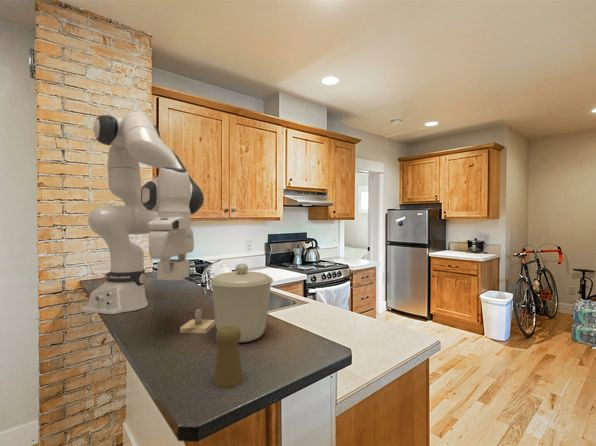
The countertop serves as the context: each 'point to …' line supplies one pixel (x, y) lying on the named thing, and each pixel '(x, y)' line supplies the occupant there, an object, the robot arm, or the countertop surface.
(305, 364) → the countertop surface
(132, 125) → the robot arm
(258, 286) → the canister
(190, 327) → the base plate
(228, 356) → the olive pepper mill
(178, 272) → the white hollow square block
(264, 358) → the countertop surface
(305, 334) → the countertop surface
